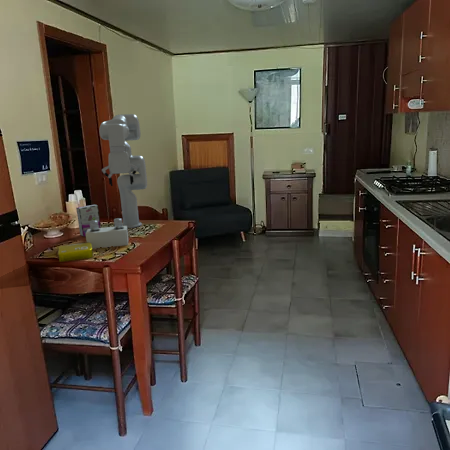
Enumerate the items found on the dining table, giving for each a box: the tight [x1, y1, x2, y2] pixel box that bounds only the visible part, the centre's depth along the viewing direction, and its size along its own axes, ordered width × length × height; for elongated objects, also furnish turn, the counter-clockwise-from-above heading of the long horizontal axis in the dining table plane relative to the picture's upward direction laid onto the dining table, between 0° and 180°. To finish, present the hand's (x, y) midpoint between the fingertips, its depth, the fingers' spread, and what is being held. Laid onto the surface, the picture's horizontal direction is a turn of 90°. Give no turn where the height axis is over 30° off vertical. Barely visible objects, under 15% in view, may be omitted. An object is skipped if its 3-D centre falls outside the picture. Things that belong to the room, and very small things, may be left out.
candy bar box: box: [75, 204, 102, 237], centre depth 237 cm, size 11×5×16 cm, turn 131°
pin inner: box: [113, 217, 123, 230], centre depth 213 cm, size 4×4×6 cm
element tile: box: [57, 242, 94, 263], centre depth 197 cm, size 15×15×5 cm
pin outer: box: [90, 220, 99, 232], centre depth 211 cm, size 4×4×6 cm
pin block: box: [85, 226, 129, 249], centre depth 214 cm, size 10×20×8 cm, turn 101°
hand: (121, 185), depth 205 cm, fingers open, 9 cm apart
